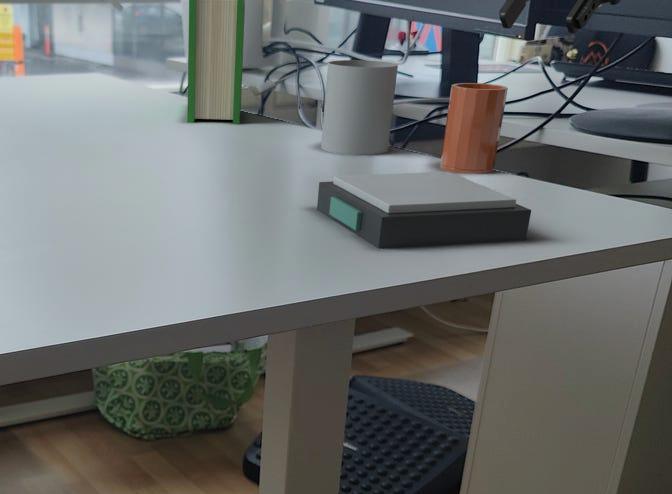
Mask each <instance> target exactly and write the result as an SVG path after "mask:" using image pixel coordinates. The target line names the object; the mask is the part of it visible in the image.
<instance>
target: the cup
mask: <svg viewBox="0 0 672 494" xmlns="http://www.w3.org/2000/svg"><path fill="white" fill-rule="evenodd" d="M398 68H399V65H398V64H397V63H393V62H388V61H380V60H379V61H377V60H363V59H362V60H361V59H345V60H344V59H342V60H341V59H340V60H332V61H328V62H327V71H326V85H325V96H324V107H323V108H324V109H323V119H322V131H321V143H320V144H321V146H320V148H321V150H324V151H327V152H329V153H334V154H340V155H353V156H374V155H381V154H385V153H388V152H389V146H390V139H391V138H390V137H391V127H392V121H393V120H392V119H393V110H394V102H395V95H396V94H395V93H396V86H397V77H398Z"/></svg>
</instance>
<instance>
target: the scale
mask: <svg viewBox="0 0 672 494" xmlns="http://www.w3.org/2000/svg"><path fill="white" fill-rule="evenodd" d="M316 211H317V212H319V213H321V214H323V215H324V216H326V217H327V218H329V219H331V220H332V221H334V222H335V223H337V224H338V225H340V226H341V227H343V228H345V229H346V230H348V231H349V232H351V233H353V234H354V235H356V236H358V237H359V238H361V239H362V240H364V241H366V242H367V243H369V244H371V245H372V246H374V247H375V248H377V249H395V248H414V247H431V246H448V245H450V246H451V245H465V244H467V245H468V244H482V243H499V242H500V243H501V242H518V241H526V240H527V235H528V230H529V226H530V220H531V214H532V209H530V208H528V207H525V206H523V205H521V204H519V203H517V199H516V198H514V197H512V196H509V195H507V194H504V193H502V192H499V191H496V190H494V189H492V188H490V187H487V186H485V185H482V184H479V183H478V182H475V181H473V180H470V179H467V178H465V177H463V176H460V175H457V174H455V173H454V172H451V171H435V172H434V171H433V172H432V171H430V172H409V173H408V172H407V173H406V172H403V173H380V174H379V173H378V174H377V173H376V174H353V175H352V174H350V175H334V176H333V180H332V181H319V183H318V191H317V204H316Z"/></svg>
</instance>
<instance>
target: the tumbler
mask: <svg viewBox="0 0 672 494" xmlns="http://www.w3.org/2000/svg"><path fill="white" fill-rule="evenodd" d="M508 91H509V88H508V87H507V86H504V85H500V84H492V83H481V82H480V83H479V82H478V83H477V82H460V83H454V84H451V87H450V94H449V101H448V106H447V107H448V108H447V113H446V114H447V115H446V121H445V128H444V134H443V142H442V149H441V155H440V156H441V157H440V166H439V167H440V169H442V170H443V171H446V172H451V173H459V174H469V175H471V174H473V175H478V174H479V175H480V174H482V175H483V174H489V173H493V172H494V169H495V165H496V161H497V160H496V159H497V154H498V149H499V143H500V138H501V137H500V136H501V131H502V126H503V120H504V119H503V118H504V113H505V107H506V102H507V97H508V96H507V95H508Z"/></svg>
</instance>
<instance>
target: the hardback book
mask: <svg viewBox="0 0 672 494" xmlns="http://www.w3.org/2000/svg"><path fill="white" fill-rule="evenodd" d="M245 13H246V0H188V47H187V48H188V53H187V54H188V55H187V61H188V62H187V117H186V119H187V121H186V122H187V124H189V123H191V124H194V123H195V121H196V120H198V119H199V120H230V121H231V120H232V125H240V121H241V111H242V91H243V68H244V67H243V65H244V41H245V40H244V39H245V16H246V15H245Z"/></svg>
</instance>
